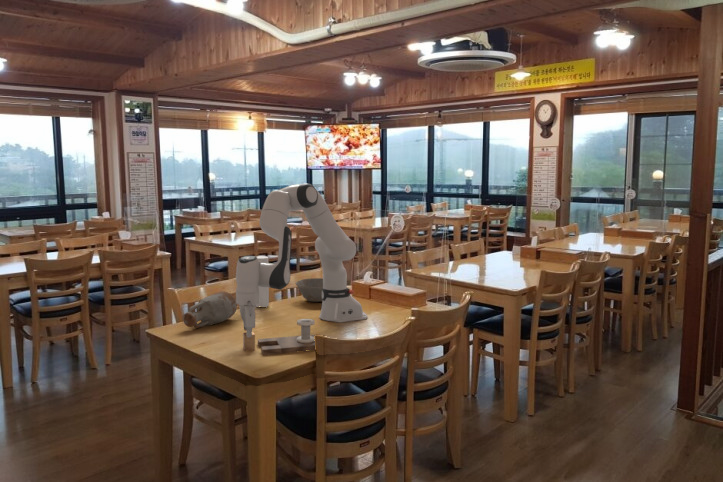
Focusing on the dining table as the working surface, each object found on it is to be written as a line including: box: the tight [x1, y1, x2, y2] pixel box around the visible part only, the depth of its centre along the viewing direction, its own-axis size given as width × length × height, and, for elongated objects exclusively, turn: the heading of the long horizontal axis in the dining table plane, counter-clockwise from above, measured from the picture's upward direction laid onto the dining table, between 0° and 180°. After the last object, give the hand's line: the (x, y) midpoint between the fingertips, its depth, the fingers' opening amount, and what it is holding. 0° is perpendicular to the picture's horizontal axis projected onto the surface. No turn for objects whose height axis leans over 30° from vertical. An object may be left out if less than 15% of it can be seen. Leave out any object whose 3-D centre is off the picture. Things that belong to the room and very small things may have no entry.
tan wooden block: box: [242, 331, 256, 351], centre depth 224 cm, size 4×4×6 cm
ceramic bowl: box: [295, 277, 323, 303], centre depth 304 cm, size 22×23×10 cm
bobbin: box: [296, 318, 316, 343], centre depth 229 cm, size 7×7×8 cm
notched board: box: [257, 334, 316, 356], centre depth 228 cm, size 24×14×2 cm, turn 108°
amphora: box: [182, 290, 238, 329], centre depth 259 cm, size 14×16×30 cm
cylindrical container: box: [255, 255, 270, 308], centre depth 290 cm, size 7×7×25 cm
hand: (247, 333), depth 224 cm, fingers open, 8 cm apart
